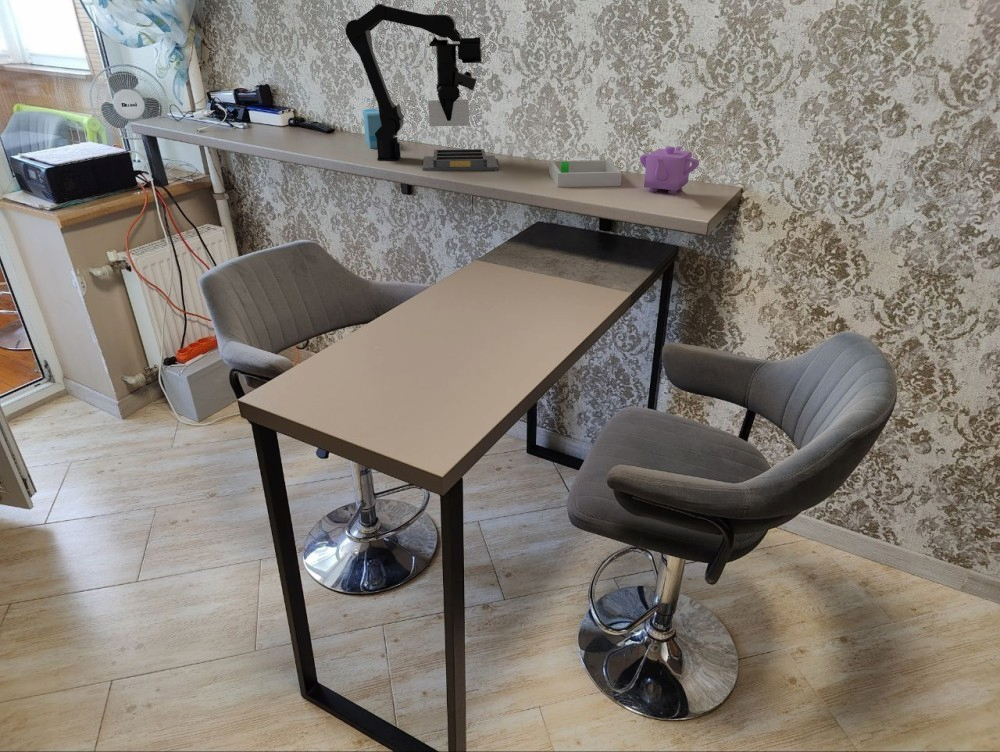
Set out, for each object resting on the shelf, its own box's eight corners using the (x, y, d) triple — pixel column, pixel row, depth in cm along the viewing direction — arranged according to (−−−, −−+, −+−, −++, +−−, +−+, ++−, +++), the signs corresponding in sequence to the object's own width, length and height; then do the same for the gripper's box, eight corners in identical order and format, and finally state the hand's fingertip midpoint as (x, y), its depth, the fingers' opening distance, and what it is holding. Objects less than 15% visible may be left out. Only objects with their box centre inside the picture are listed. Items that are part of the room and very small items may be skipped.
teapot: (630, 184, 185) (634, 142, 180) (676, 182, 188) (681, 140, 183) (653, 198, 172) (658, 153, 167) (702, 195, 175) (709, 151, 170)
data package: (384, 151, 228) (380, 113, 223) (370, 152, 227) (366, 113, 221) (379, 145, 238) (376, 108, 233) (365, 145, 237) (362, 108, 232)
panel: (429, 126, 207) (428, 101, 203) (429, 124, 209) (428, 100, 206) (469, 125, 208) (468, 100, 204) (468, 124, 210) (468, 99, 207)
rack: (422, 171, 200) (422, 160, 199) (424, 159, 216) (423, 149, 214) (497, 170, 201) (497, 159, 200) (494, 158, 217) (494, 148, 215)
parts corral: (557, 187, 183) (558, 173, 181) (549, 173, 198) (549, 160, 196) (620, 186, 184) (621, 172, 182) (607, 172, 199) (608, 160, 197)
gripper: (476, 65, 193) (477, 123, 200) (472, 60, 209) (473, 115, 217) (436, 65, 192) (439, 124, 199) (435, 61, 208) (437, 115, 216)
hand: (448, 119), depth 208 cm, fingers closed on panel, 3 cm apart
